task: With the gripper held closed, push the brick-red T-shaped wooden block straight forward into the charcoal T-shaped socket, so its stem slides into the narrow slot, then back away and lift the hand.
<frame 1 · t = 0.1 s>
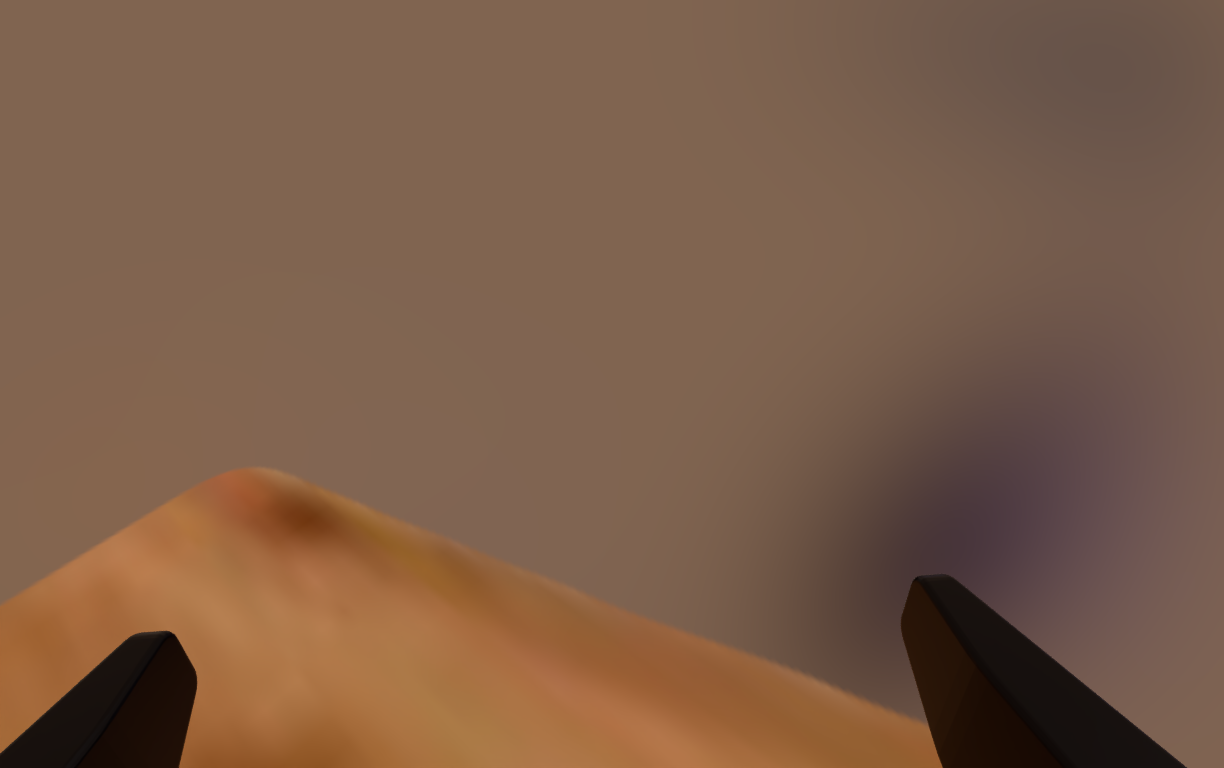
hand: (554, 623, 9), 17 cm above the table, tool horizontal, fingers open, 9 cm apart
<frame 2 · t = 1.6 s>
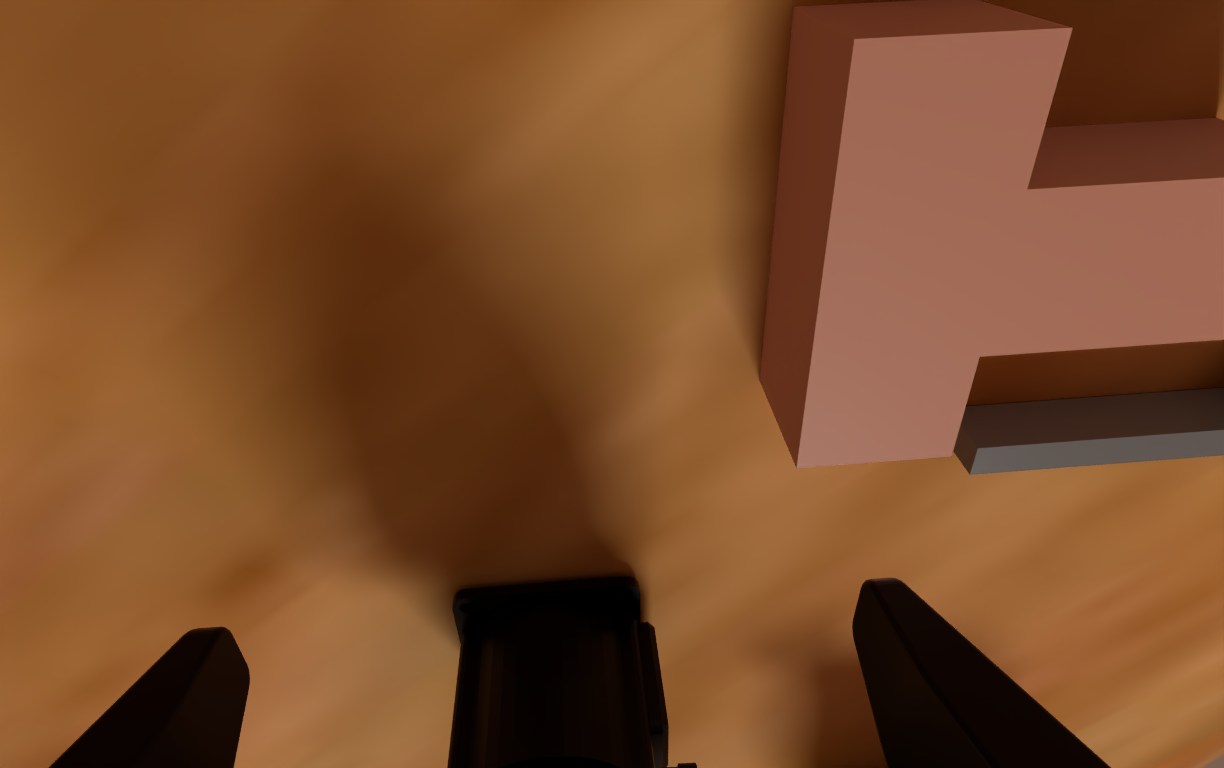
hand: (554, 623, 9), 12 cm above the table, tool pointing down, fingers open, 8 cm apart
t block: (849, 215, 20), on the table
t socket: (1185, 195, 20), on the table
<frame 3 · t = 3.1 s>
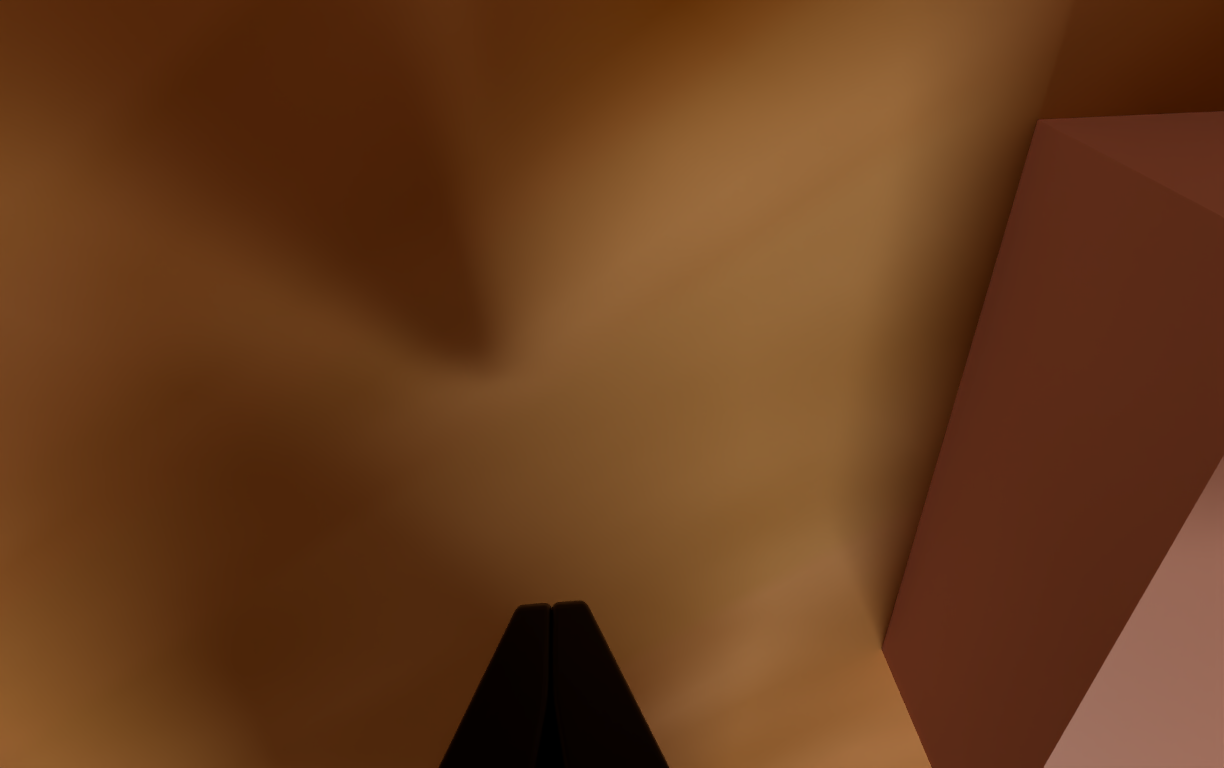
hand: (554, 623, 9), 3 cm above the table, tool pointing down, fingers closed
t block: (1065, 440, 12), on the table
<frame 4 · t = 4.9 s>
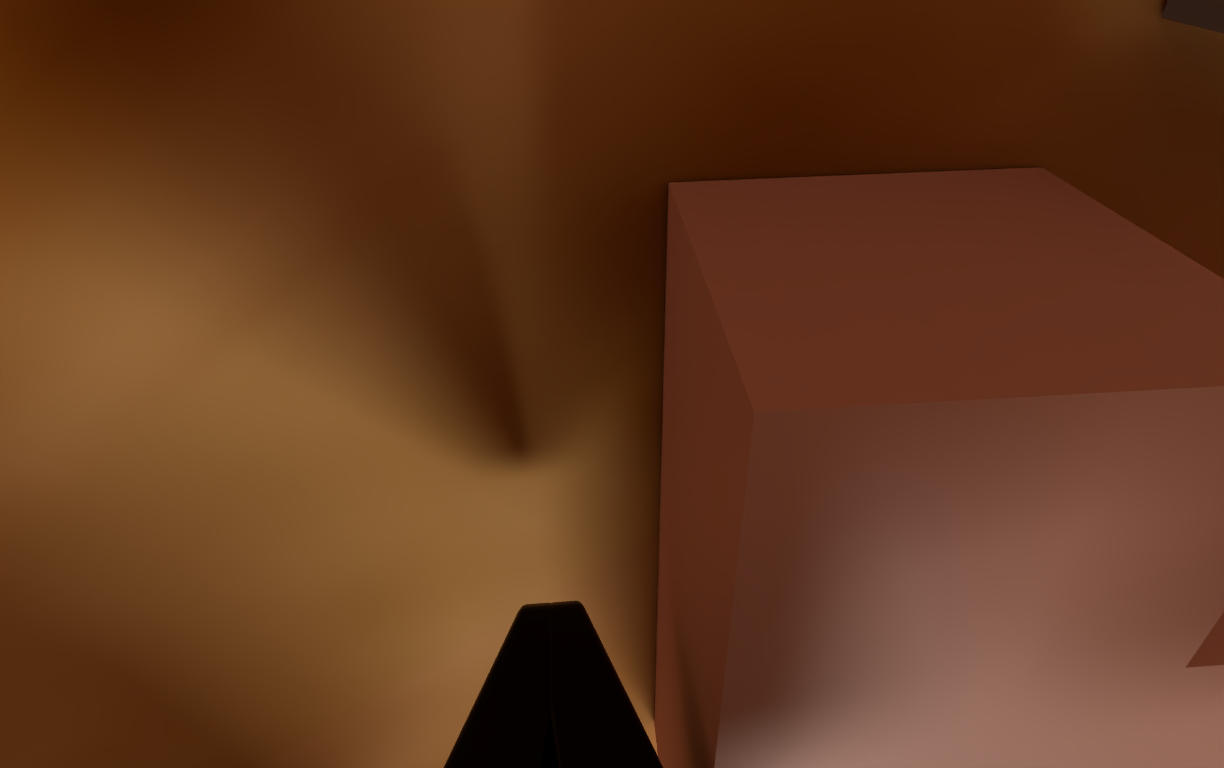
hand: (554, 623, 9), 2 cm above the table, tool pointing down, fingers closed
t block: (798, 517, 11), on the table, touching gripper
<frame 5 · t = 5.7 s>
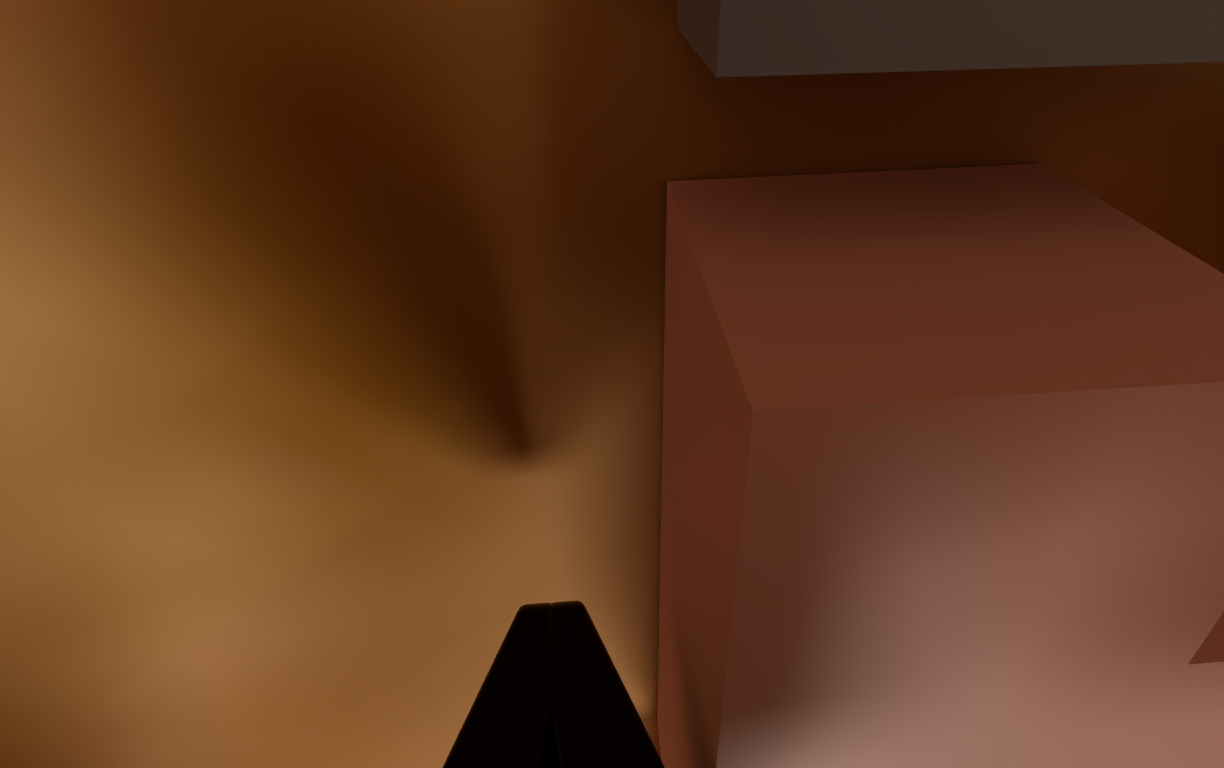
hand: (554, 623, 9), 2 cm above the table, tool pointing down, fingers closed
t block: (799, 515, 11), on the table, touching gripper
t socket: (1002, 506, 11), on the table
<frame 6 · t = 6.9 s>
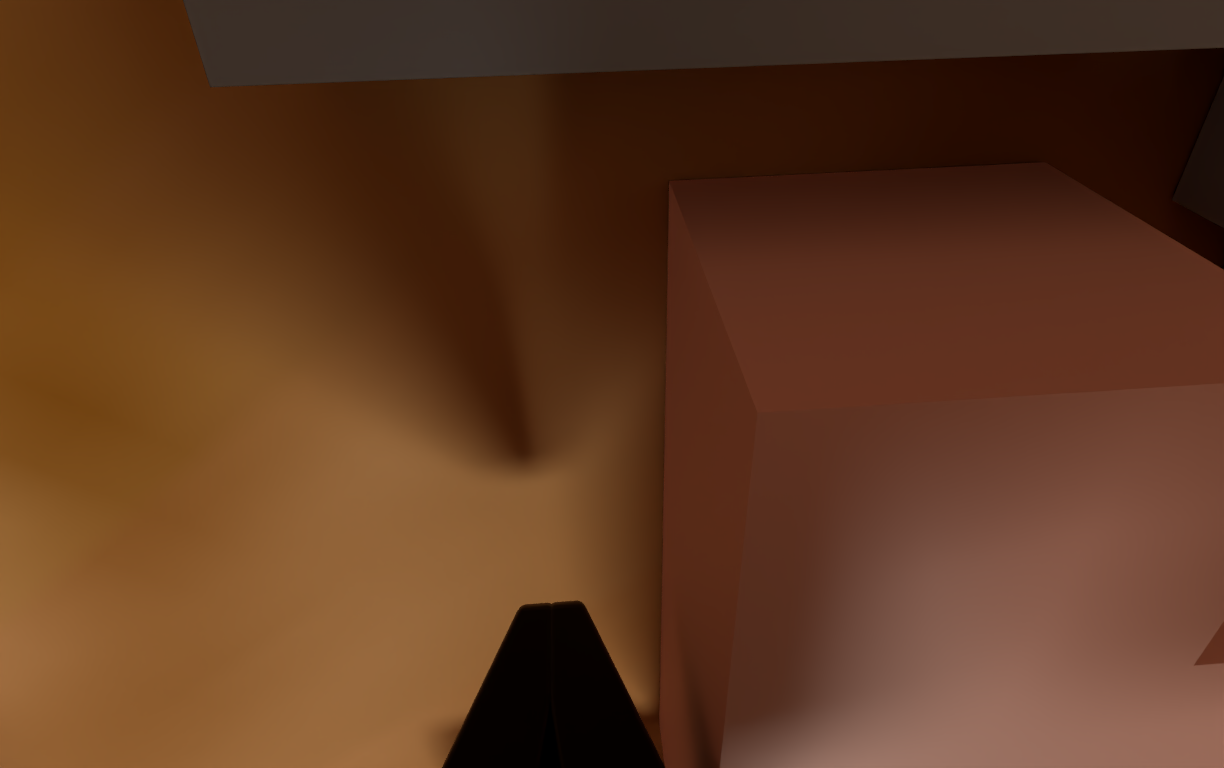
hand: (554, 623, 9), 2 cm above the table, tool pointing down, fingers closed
t block: (802, 515, 11), on the table, touching gripper
t socket: (771, 518, 11), on the table
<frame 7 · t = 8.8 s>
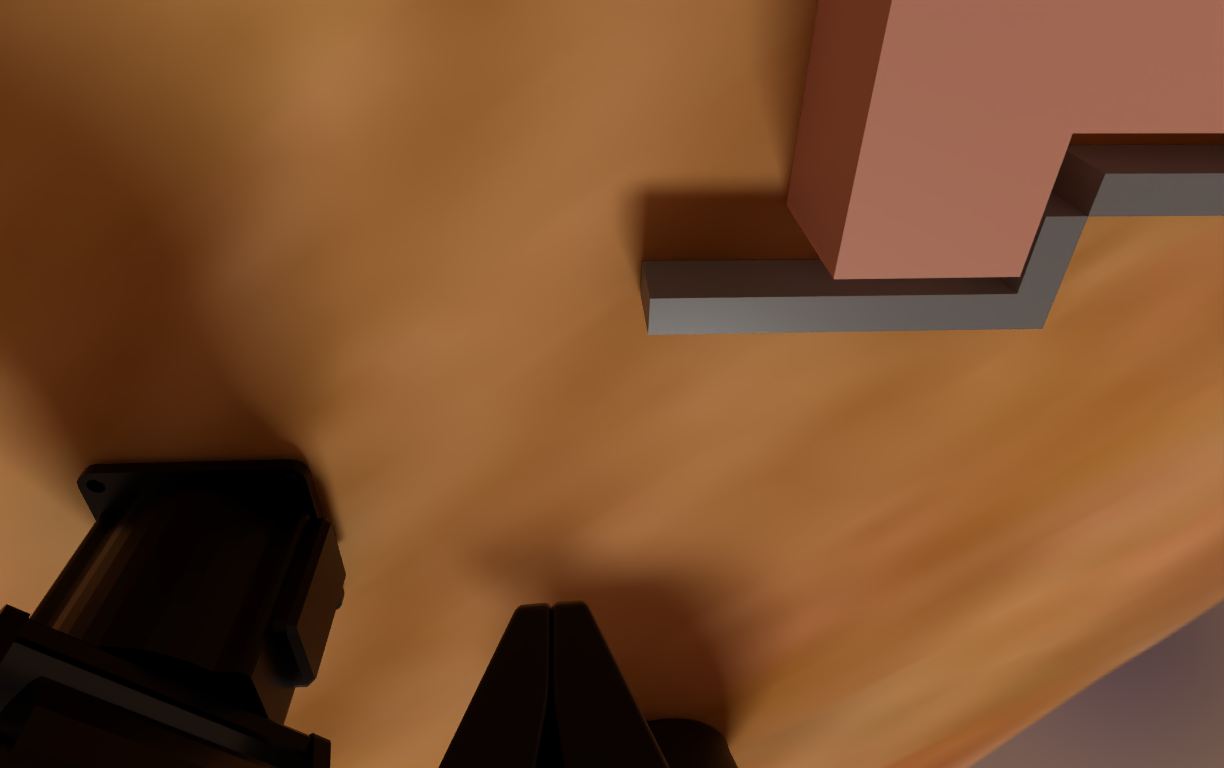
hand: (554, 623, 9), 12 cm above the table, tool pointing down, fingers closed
mug: (642, 729, 33), on the table
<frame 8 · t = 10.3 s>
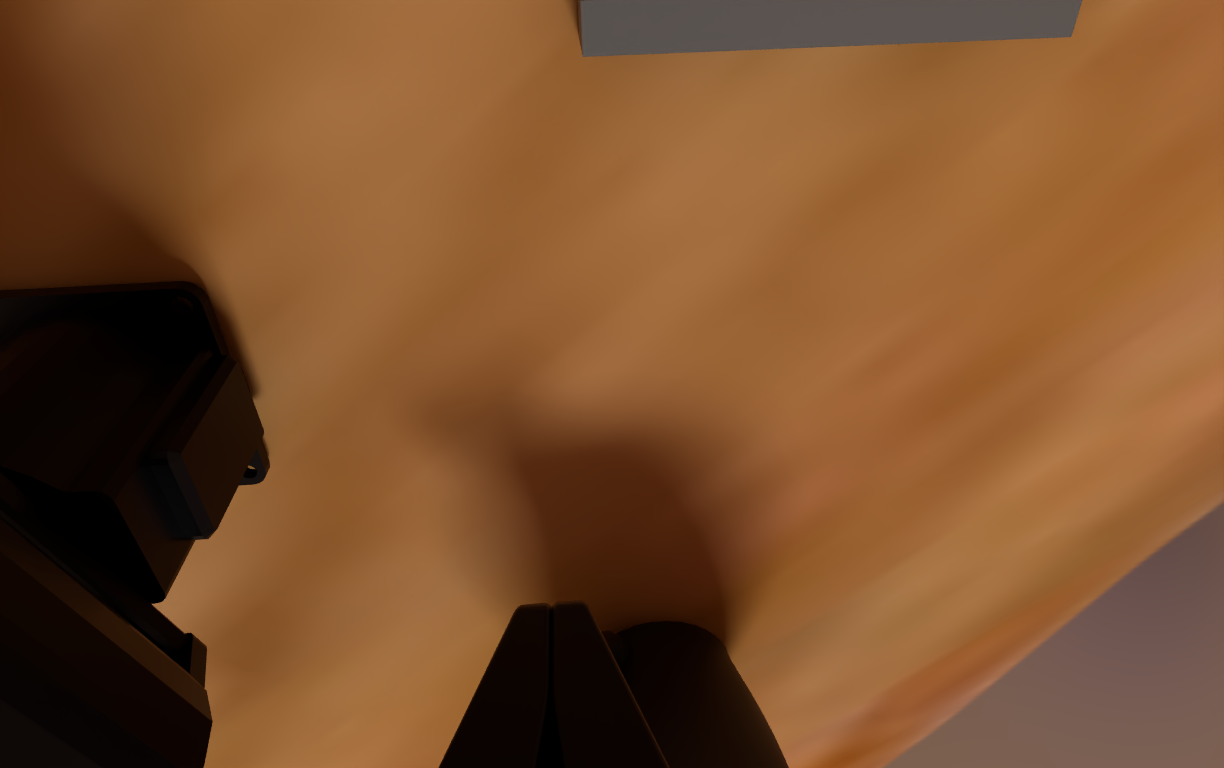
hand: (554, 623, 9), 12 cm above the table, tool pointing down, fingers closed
mug: (631, 638, 29), on the table
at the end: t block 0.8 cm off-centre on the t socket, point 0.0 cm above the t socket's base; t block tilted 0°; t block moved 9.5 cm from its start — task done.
